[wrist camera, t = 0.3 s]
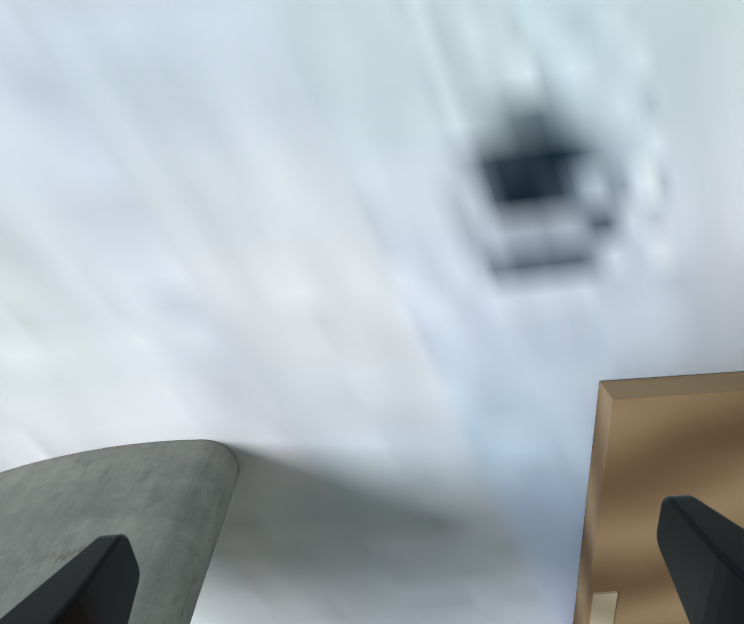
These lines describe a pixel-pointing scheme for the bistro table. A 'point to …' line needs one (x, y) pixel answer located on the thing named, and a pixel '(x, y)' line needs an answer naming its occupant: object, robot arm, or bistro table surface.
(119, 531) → the hip flask
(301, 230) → the bistro table surface
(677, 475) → the board
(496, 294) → the bistro table surface
